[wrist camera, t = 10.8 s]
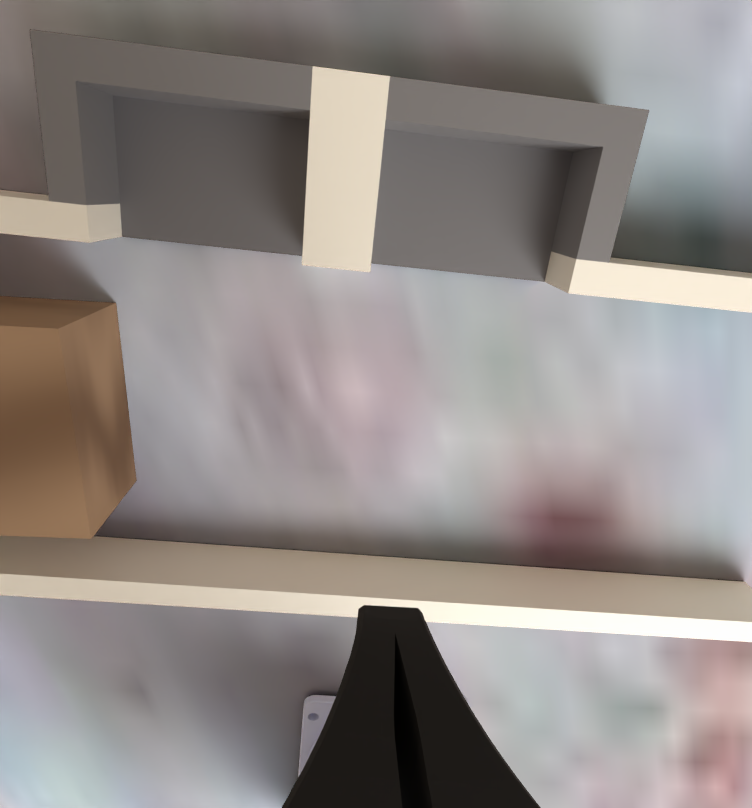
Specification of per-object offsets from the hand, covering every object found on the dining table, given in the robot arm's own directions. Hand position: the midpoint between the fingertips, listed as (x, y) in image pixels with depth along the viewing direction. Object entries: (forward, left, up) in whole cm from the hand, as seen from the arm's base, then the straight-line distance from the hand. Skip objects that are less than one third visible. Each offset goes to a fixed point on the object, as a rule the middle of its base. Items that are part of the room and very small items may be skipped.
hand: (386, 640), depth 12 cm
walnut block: (+1, +13, -10) cm, 16 cm away
